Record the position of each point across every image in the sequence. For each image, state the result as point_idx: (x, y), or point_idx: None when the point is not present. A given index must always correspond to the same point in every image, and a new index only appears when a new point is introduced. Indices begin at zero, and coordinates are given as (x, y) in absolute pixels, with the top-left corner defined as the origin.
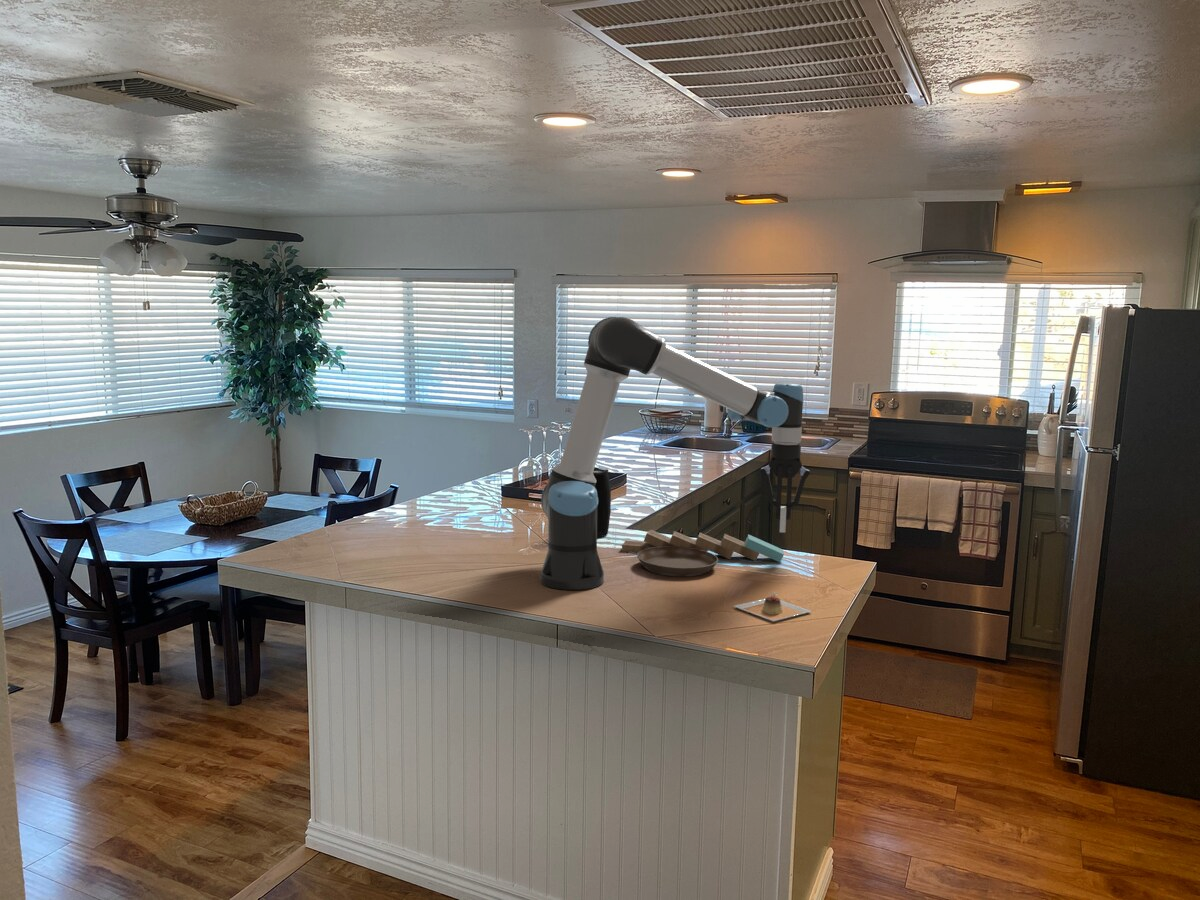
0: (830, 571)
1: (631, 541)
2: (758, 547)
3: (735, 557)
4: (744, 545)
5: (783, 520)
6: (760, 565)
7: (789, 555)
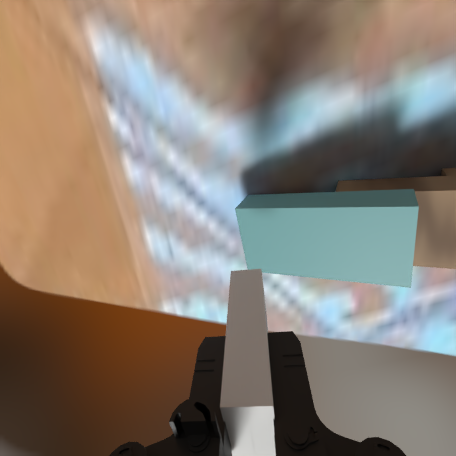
0: (58, 143)
1: None
2: (347, 200)
3: None
4: None
5: (242, 319)
6: (317, 124)
7: None
